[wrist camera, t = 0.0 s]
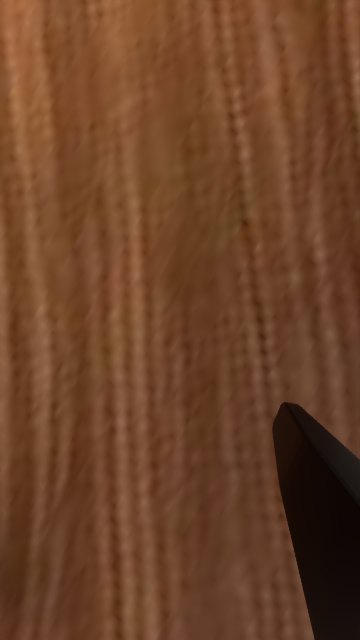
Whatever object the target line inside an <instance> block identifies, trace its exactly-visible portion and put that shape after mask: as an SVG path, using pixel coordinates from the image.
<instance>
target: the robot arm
mask: <svg viewBox="0 0 360 640" xmlns="http://www.w3.org/2000/svg"><path fill="white" fill-rule="evenodd" d="M272 432H273V440H274V448H275V456H276V464H277V472H278V480H279V486H280V491H281V496H282V500H283V505H284V509H285V513H286V518H287V522H288V526H289V531H290V535H291V539H292V544H293V548H294V552H295V557H296V561H297V565H298V570H299V574H300V578H301V582H302V587H303V591H304V595H305V600H306V604H307V608H308V613H309V617H310V621H311V626H312V630H313V634H314V639H315V640H360V459H359V458H357V457H356V456H355V455H354V454H353V453H352V452H351V451H350V450H349V449H347V448H346V447H345V446H344V445H343V444H342V443H341V442H340V441H339V440H337V439H336V438H335V437H334V436H333V435H332V434H331V433H330V432H328V431H327V430H326V429H325V428H324V427H323V426H322V425H321V424H320V423H318V422H317V421H316V420H315V419H314V418H313V417H312V416H311V415H310V414H308V413H307V412H306V411H305V410H304V409H303V408H302V407H301V406H299V405H298V404H294V403H288V402H284V403H282V404H281V406H280V408H279V410H278V413H277V415H276V418H275V420H274V423H273V428H272Z"/></svg>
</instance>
